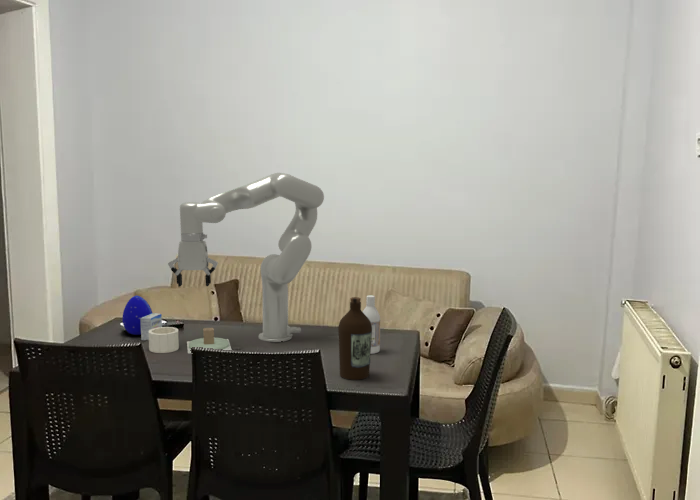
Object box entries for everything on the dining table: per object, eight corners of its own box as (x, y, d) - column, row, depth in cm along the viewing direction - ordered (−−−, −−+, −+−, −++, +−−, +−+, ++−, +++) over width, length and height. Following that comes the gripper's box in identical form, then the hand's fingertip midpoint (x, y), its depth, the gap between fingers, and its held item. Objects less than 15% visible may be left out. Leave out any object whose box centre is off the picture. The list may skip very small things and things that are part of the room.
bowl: (178, 345, 253) (177, 326, 252) (178, 353, 243) (178, 333, 242) (149, 346, 250) (149, 327, 249) (149, 355, 241) (148, 335, 240)
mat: (228, 340, 260) (228, 339, 260) (231, 352, 245) (231, 350, 245) (186, 342, 256) (186, 341, 256) (188, 354, 242) (188, 353, 242)
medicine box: (151, 341, 258) (151, 318, 256) (140, 340, 259) (140, 317, 257) (162, 335, 265) (161, 313, 264) (151, 334, 266) (151, 312, 265)
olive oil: (331, 372, 224) (332, 296, 221) (360, 368, 230) (361, 293, 226) (348, 382, 215) (349, 303, 211) (377, 377, 220) (378, 299, 217)
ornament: (156, 331, 271) (155, 293, 269) (147, 338, 262) (146, 298, 259) (128, 330, 272) (127, 292, 269) (118, 337, 263) (117, 298, 260)
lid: (227, 339, 259) (226, 323, 258) (230, 350, 246) (230, 333, 245) (188, 341, 256) (187, 325, 255) (189, 352, 242) (189, 335, 241)
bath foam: (382, 353, 246) (383, 297, 243) (363, 354, 244) (363, 298, 241) (376, 347, 252) (377, 293, 249) (357, 349, 251) (358, 294, 248)
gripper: (218, 236, 249) (220, 283, 252) (169, 236, 249) (172, 283, 252) (214, 239, 242) (216, 287, 244) (164, 239, 241) (166, 288, 244)
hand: (193, 285), depth 248 cm, fingers open, 9 cm apart
